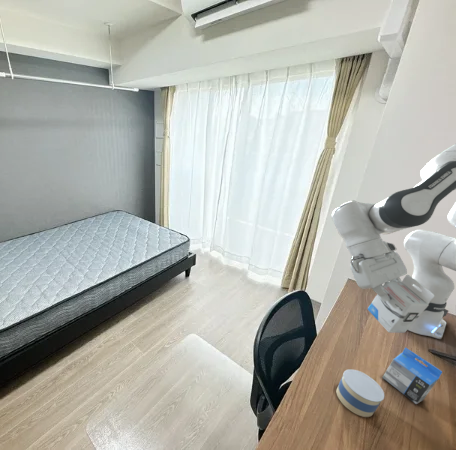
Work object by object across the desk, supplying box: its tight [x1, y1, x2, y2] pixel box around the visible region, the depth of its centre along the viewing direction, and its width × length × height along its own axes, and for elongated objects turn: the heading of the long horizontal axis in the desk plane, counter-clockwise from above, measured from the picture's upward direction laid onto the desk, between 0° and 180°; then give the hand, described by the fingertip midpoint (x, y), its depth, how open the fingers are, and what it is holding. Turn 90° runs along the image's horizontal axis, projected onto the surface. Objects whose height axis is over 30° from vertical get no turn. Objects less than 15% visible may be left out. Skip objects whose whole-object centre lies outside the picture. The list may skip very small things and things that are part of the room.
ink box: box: [367, 274, 435, 334], centre depth 68 cm, size 9×5×15 cm, turn 0°
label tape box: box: [382, 346, 443, 405], centre depth 73 cm, size 9×4×12 cm, turn 20°
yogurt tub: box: [335, 368, 385, 418], centre depth 70 cm, size 9×9×7 cm
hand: (394, 297), depth 69 cm, fingers closed on ink box, 6 cm apart
